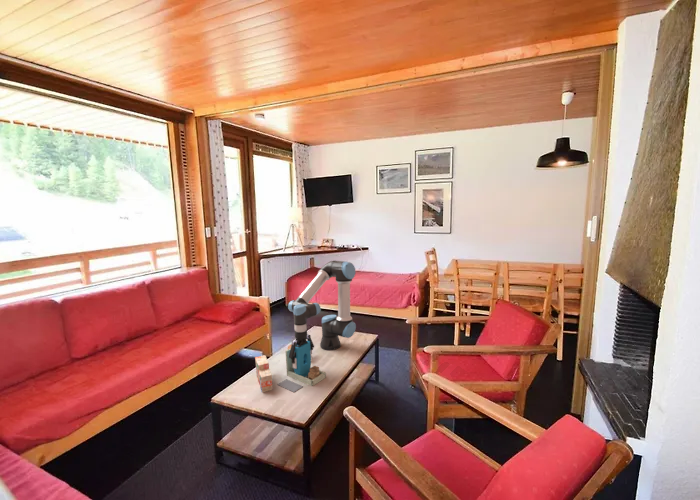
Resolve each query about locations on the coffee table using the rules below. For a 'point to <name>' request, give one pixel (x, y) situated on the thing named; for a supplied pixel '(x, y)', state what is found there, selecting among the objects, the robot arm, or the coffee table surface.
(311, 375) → the offcut stack
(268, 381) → the stack of blocks
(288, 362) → the frame
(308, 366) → the block
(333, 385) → the coffee table surface
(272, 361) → the coffee table surface
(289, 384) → the felt mat
